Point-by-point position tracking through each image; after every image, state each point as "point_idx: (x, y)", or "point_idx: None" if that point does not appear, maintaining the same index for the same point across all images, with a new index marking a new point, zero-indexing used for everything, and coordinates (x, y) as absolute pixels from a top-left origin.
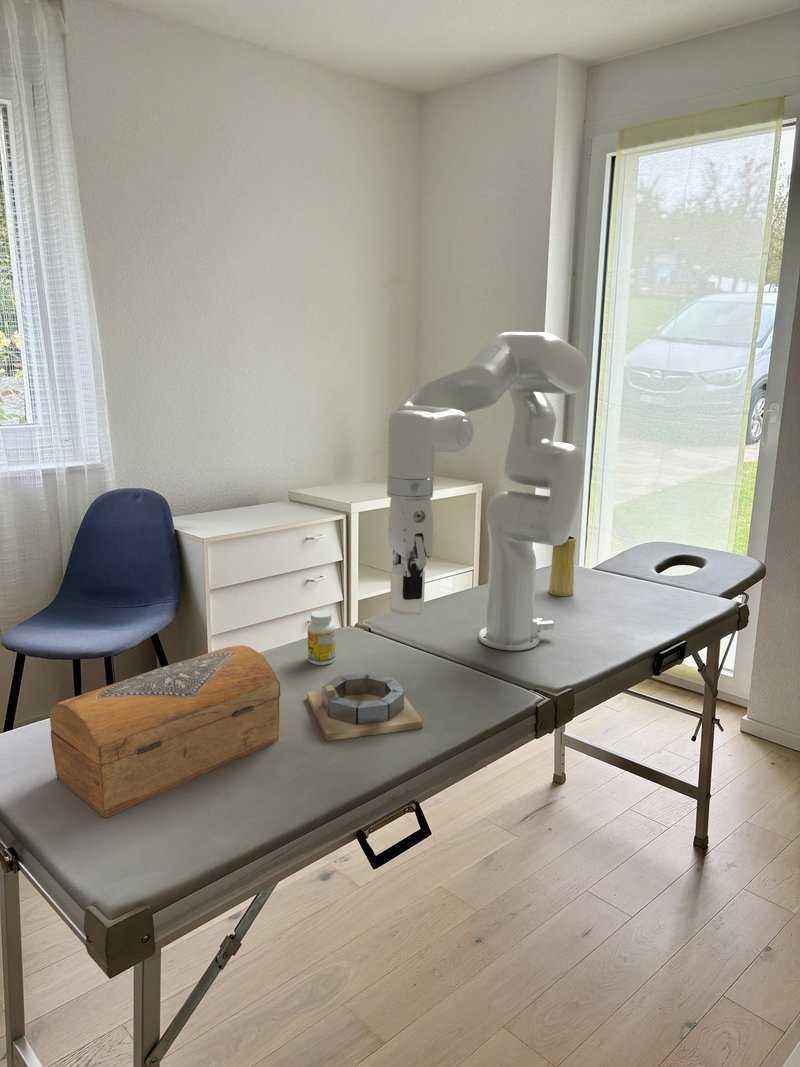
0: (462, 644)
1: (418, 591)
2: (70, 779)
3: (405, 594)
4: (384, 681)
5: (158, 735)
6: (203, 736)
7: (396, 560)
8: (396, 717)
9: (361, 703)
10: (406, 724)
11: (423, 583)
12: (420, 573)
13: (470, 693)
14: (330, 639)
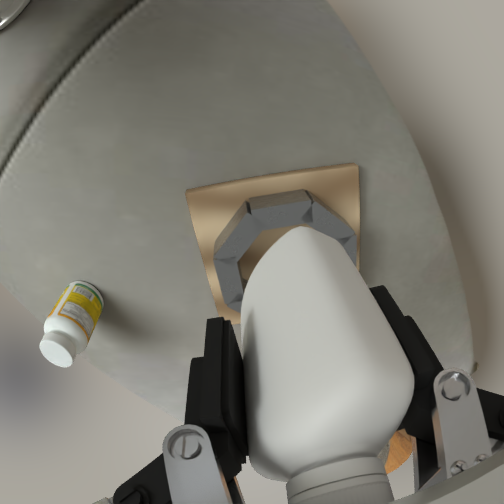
0: (5, 59)
1: (415, 324)
2: None
3: None
4: (258, 232)
5: (402, 430)
6: None
7: (241, 494)
8: (336, 206)
9: None
10: (358, 193)
11: (376, 317)
12: (479, 391)
13: (225, 45)
14: (81, 314)
